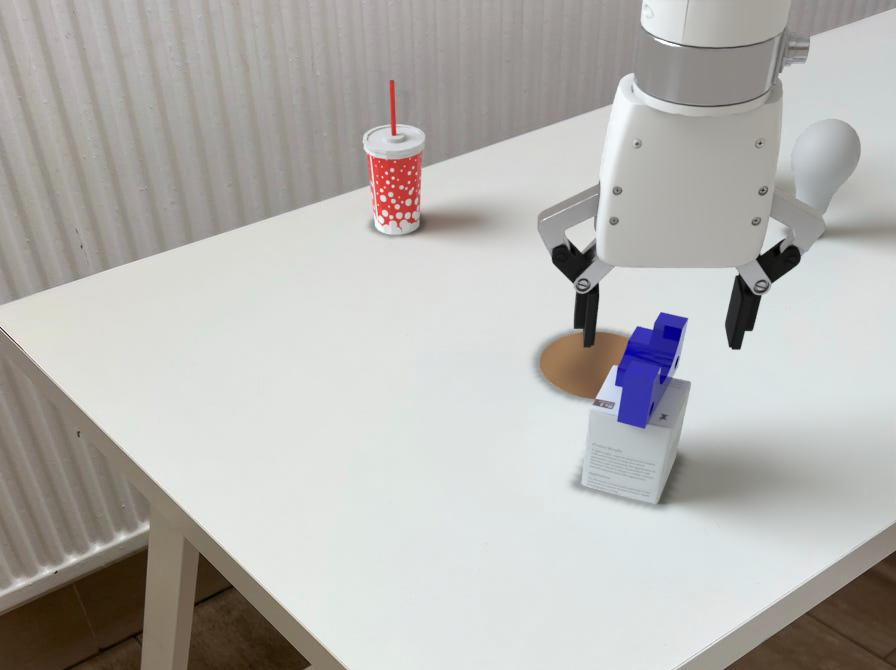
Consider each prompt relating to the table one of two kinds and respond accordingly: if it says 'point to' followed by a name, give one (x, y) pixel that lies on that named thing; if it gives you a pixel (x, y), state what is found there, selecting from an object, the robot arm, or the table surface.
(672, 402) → the white cardboard box
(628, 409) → the cable holder
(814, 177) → the lightbulb
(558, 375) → the cork coaster
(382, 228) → the beverage cup
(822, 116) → the table surface
